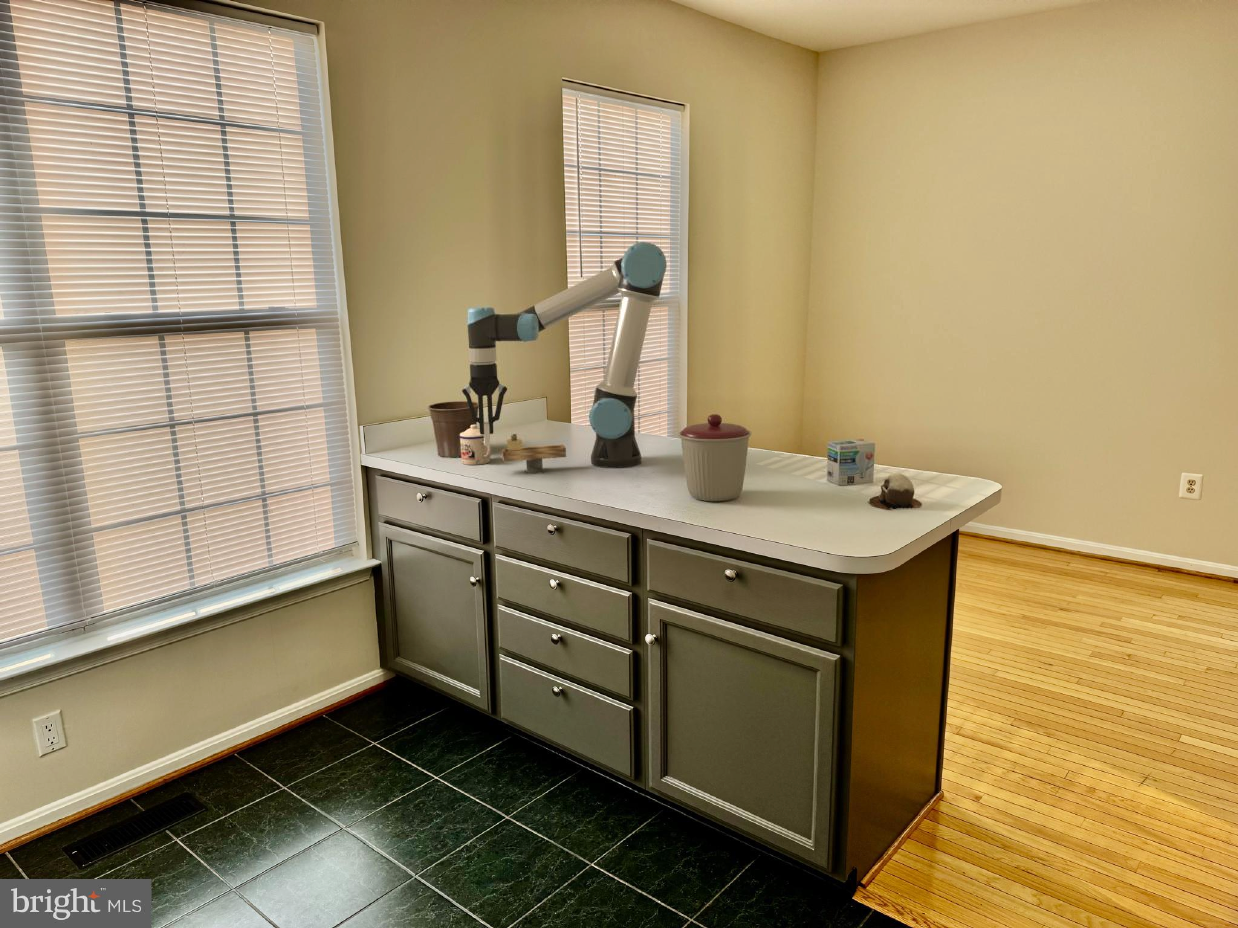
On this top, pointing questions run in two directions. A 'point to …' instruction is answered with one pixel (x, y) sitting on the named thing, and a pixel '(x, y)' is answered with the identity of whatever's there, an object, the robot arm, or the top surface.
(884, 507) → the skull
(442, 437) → the plant pot
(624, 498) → the top surface
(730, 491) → the canister
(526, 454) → the beam
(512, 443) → the rider
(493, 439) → the top surface
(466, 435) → the teacup with lid
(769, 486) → the top surface
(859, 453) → the light bulb box
